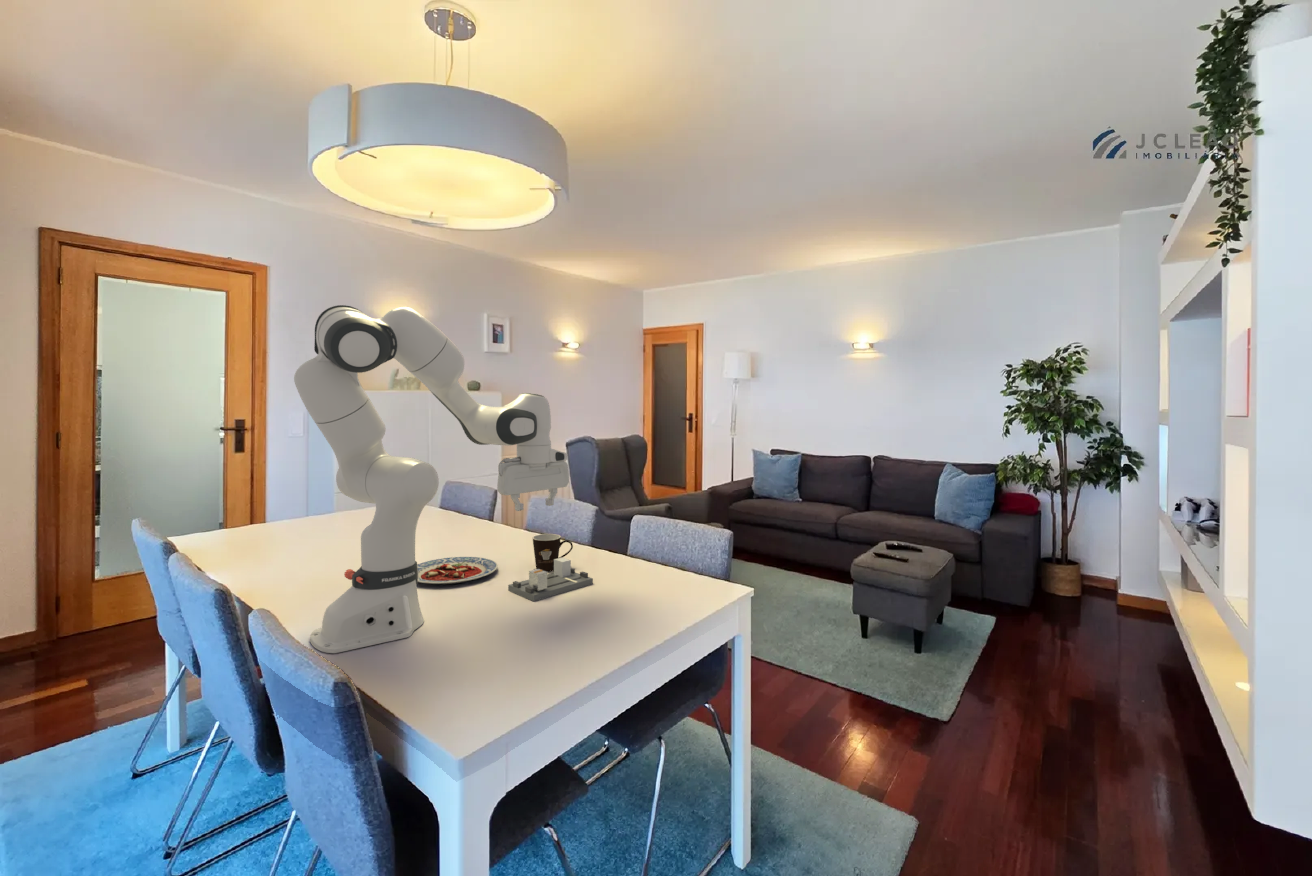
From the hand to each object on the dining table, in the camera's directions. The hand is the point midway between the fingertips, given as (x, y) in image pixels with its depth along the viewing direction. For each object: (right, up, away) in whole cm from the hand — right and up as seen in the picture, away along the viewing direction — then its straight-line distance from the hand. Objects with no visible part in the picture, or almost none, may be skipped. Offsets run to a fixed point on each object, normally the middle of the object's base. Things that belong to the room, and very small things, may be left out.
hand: (534, 507), depth 144 cm
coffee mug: (-1, -23, +26) cm, 34 cm away
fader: (0, -22, +2) cm, 22 cm away
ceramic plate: (-29, -23, +19) cm, 42 cm away
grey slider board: (+3, -23, +9) cm, 25 cm away
